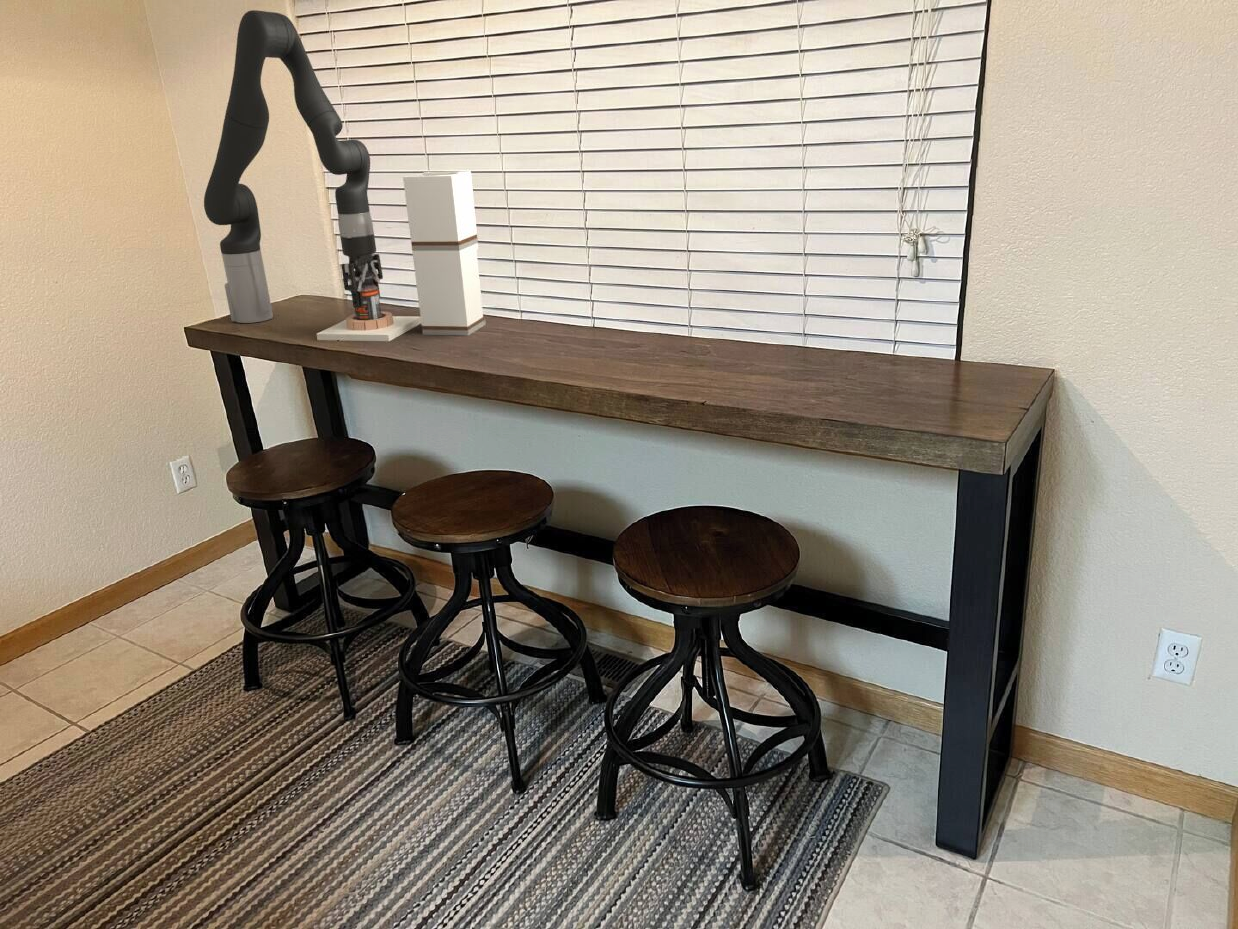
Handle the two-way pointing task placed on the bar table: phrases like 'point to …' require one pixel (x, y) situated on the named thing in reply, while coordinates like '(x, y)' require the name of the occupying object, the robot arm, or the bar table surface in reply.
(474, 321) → the white striped pillar
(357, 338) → the collar mount
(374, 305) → the supplement bottle
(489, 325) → the bar table surface
